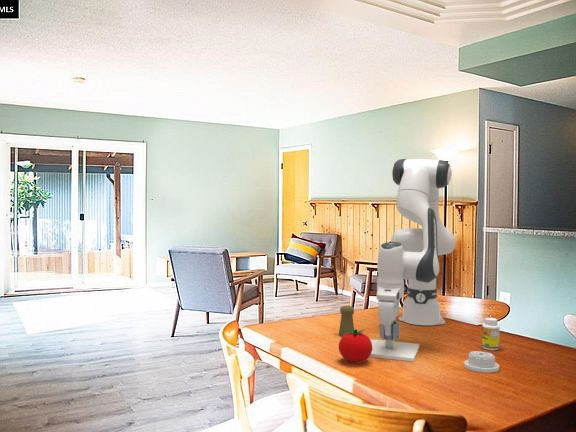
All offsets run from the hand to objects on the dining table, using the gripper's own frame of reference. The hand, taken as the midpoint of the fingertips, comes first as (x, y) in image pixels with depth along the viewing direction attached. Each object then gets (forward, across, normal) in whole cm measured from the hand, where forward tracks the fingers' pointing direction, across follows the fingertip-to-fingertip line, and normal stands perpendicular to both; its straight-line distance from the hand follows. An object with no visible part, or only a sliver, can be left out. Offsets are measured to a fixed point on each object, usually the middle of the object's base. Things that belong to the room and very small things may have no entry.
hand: (389, 332), depth 176 cm
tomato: (+6, +16, -8) cm, 19 cm away
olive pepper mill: (+6, -15, -18) cm, 24 cm away
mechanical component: (+7, +8, +29) cm, 30 cm away
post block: (+6, 0, 0) cm, 6 cm away
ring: (+2, 0, 0) cm, 2 cm away
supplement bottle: (+6, -16, +32) cm, 36 cm away
